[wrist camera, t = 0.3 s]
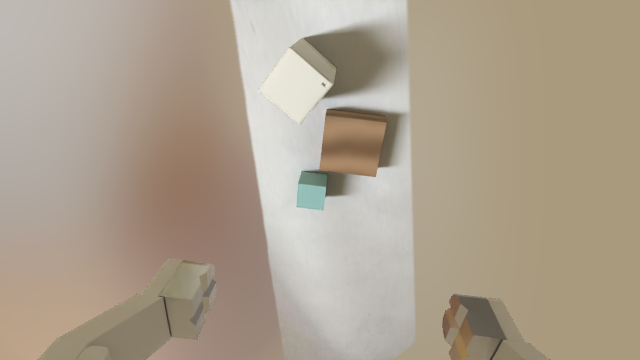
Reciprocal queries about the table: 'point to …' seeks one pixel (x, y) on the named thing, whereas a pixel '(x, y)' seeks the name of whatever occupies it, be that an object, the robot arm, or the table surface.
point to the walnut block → (352, 142)
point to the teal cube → (312, 190)
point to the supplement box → (299, 80)
